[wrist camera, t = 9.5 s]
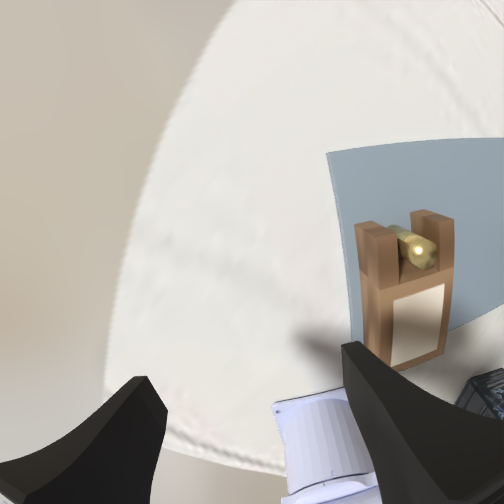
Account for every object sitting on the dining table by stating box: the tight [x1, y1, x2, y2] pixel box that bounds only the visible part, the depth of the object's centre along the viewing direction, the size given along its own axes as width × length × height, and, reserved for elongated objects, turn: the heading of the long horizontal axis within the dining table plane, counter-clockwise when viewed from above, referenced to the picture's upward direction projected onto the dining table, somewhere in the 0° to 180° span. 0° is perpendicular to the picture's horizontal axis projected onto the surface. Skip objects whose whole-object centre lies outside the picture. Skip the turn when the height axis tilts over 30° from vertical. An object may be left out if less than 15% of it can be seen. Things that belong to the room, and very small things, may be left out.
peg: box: [387, 224, 437, 270], centre depth 15 cm, size 2×2×4 cm
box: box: [454, 368, 504, 420], centre depth 18 cm, size 8×6×11 cm
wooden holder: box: [354, 209, 455, 372], centre depth 16 cm, size 10×6×4 cm, turn 13°
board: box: [326, 138, 504, 345], centre depth 17 cm, size 16×18×1 cm
